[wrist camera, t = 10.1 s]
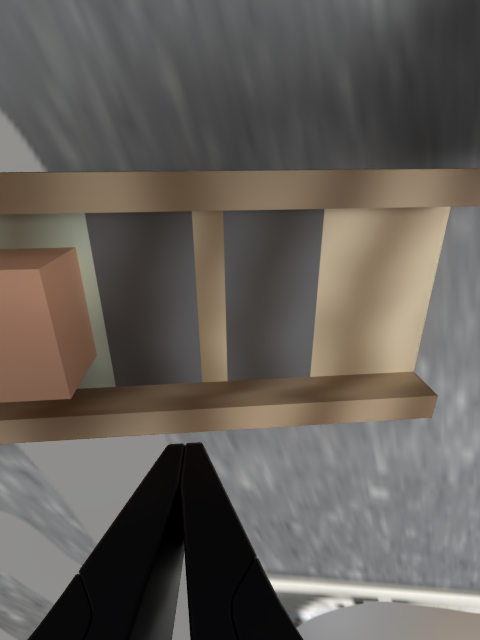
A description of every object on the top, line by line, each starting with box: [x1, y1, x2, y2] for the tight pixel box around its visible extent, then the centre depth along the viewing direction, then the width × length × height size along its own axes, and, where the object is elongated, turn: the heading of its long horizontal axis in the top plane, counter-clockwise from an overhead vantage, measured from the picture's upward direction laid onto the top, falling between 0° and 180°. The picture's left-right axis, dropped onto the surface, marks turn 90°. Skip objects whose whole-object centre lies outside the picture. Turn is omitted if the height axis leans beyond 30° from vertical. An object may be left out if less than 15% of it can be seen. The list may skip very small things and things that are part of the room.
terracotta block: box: [0, 247, 97, 403], centre depth 16 cm, size 5×6×4 cm
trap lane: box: [0, 168, 480, 444], centre depth 18 cm, size 27×13×4 cm, turn 90°
